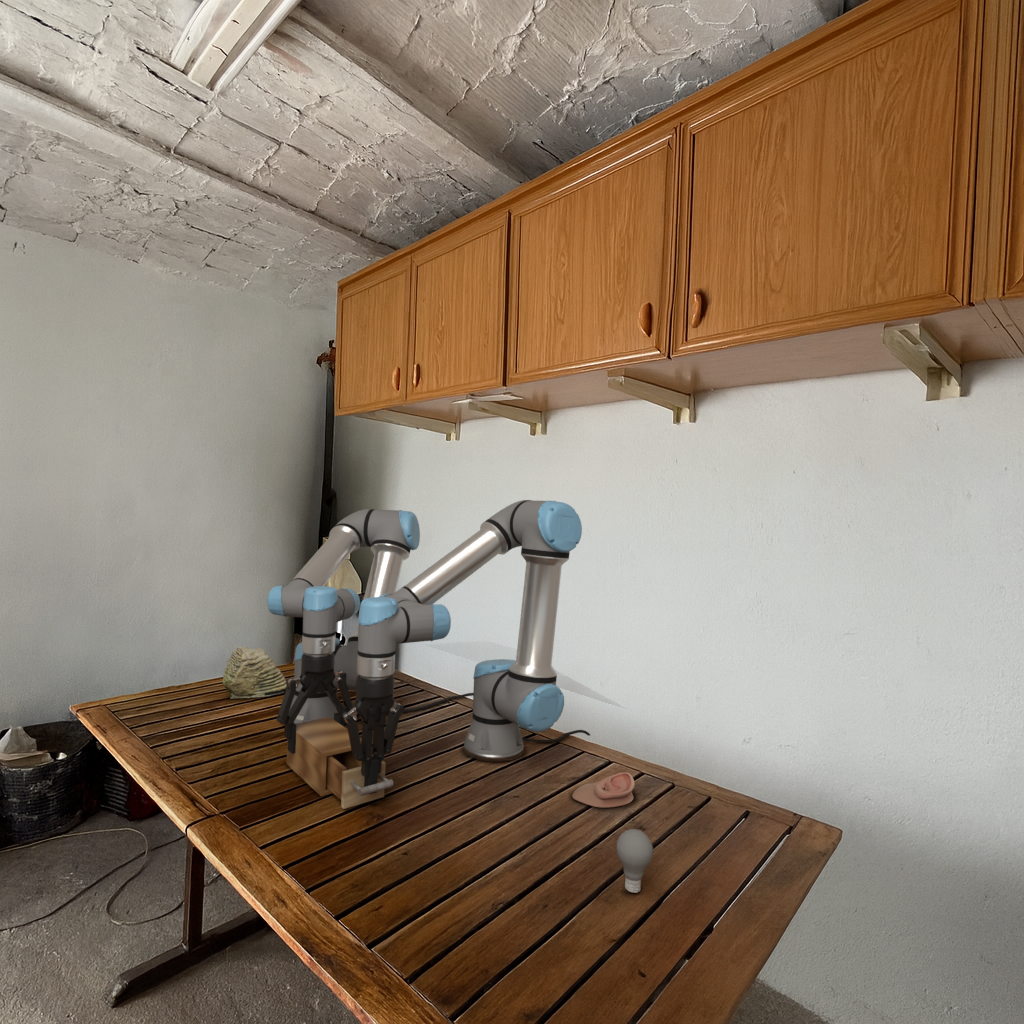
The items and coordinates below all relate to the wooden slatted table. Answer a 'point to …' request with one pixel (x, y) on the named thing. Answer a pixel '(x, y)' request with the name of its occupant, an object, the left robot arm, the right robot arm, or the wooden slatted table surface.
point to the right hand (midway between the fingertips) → (370, 790)
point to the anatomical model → (607, 791)
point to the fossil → (252, 674)
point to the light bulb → (634, 857)
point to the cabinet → (317, 750)
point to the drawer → (352, 780)
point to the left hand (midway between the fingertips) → (314, 746)
